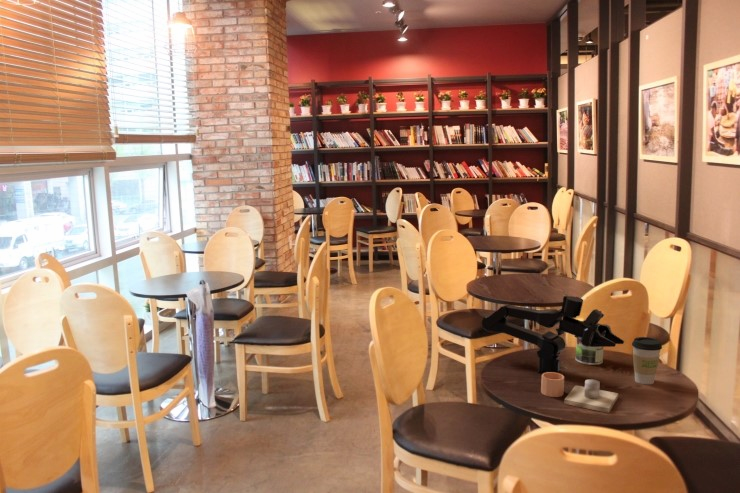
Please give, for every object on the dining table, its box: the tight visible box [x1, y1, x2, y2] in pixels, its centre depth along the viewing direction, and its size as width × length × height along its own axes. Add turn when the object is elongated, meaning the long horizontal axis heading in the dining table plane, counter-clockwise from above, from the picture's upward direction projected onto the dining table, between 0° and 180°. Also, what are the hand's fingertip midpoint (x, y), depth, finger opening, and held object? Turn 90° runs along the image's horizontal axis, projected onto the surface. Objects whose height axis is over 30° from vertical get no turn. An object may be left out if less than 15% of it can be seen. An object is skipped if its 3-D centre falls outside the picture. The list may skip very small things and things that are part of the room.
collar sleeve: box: [540, 372, 565, 398], centre depth 218 cm, size 7×7×6 cm
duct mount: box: [563, 378, 619, 414], centre depth 212 cm, size 14×14×6 cm
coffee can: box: [574, 322, 605, 366], centre depth 249 cm, size 10×10×14 cm
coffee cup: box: [631, 336, 663, 385], centre depth 227 cm, size 10×10×15 cm
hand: (619, 343), depth 220 cm, fingers open, 9 cm apart
